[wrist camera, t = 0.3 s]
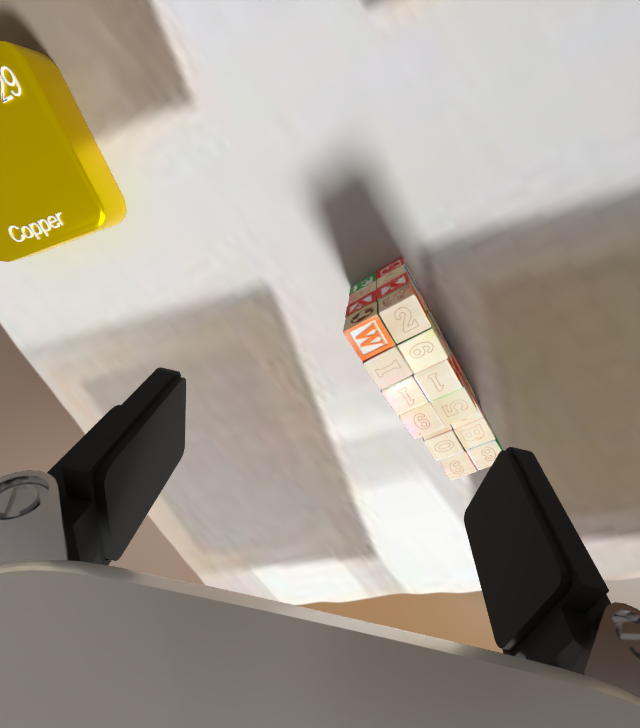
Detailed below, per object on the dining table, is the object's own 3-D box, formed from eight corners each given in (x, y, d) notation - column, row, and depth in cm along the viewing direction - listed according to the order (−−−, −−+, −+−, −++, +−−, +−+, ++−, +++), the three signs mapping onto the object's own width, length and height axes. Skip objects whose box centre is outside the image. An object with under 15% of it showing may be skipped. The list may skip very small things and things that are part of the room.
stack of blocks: (483, 407, 46) (518, 485, 35) (434, 427, 48) (454, 505, 37) (401, 254, 38) (415, 293, 28) (348, 285, 40) (341, 332, 30)
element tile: (26, 258, 43) (-10, 268, 39) (-72, 107, 37) (-128, 101, 33) (136, 217, 40) (109, 224, 36) (49, 43, 33) (3, 27, 29)
